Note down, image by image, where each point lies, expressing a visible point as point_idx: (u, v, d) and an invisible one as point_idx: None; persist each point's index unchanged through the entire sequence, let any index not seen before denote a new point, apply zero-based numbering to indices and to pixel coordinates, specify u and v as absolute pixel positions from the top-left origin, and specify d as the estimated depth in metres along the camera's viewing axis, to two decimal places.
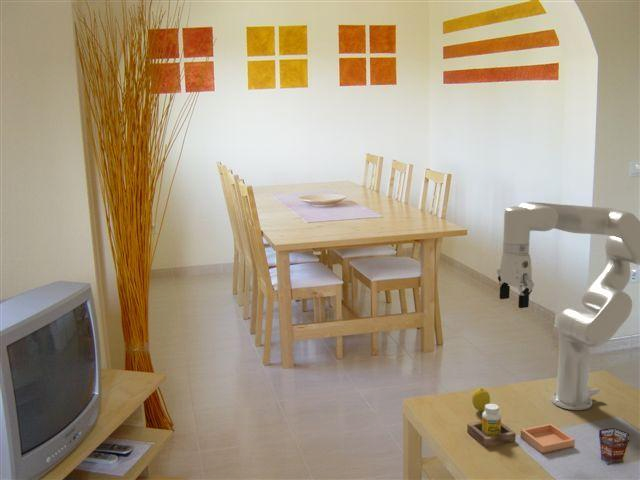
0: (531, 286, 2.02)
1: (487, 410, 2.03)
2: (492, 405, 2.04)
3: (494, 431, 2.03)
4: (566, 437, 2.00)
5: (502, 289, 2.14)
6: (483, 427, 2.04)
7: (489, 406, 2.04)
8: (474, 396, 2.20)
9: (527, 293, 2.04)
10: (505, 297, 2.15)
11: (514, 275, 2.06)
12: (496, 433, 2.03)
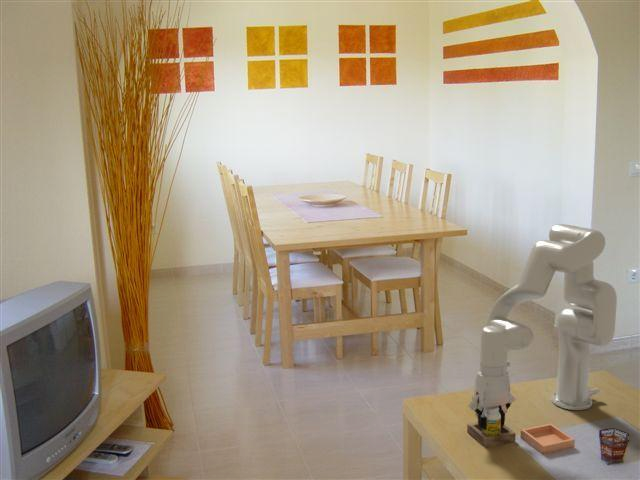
0: None
1: (487, 410, 2.03)
2: None
3: (494, 431, 2.03)
4: (566, 437, 2.00)
5: None
6: None
7: None
8: None
9: None
10: None
11: (505, 393, 2.02)
12: (496, 433, 2.03)
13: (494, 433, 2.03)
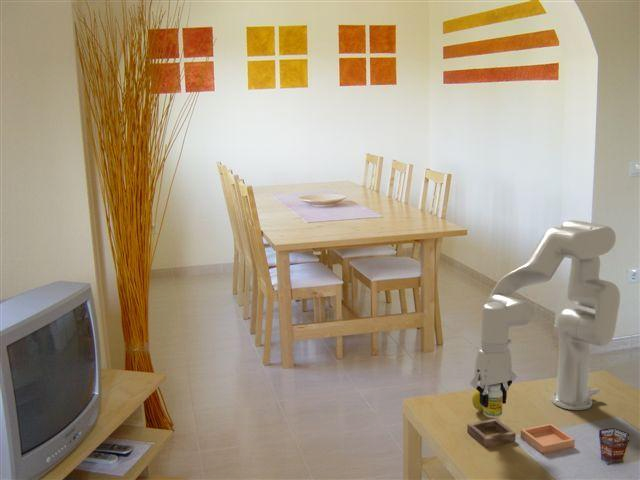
0: None
1: (489, 387, 2.01)
2: None
3: (496, 409, 2.01)
4: (566, 437, 2.00)
5: None
6: None
7: None
8: (474, 396, 2.20)
9: None
10: None
11: (507, 371, 2.00)
12: (498, 411, 2.02)
13: (496, 411, 2.01)
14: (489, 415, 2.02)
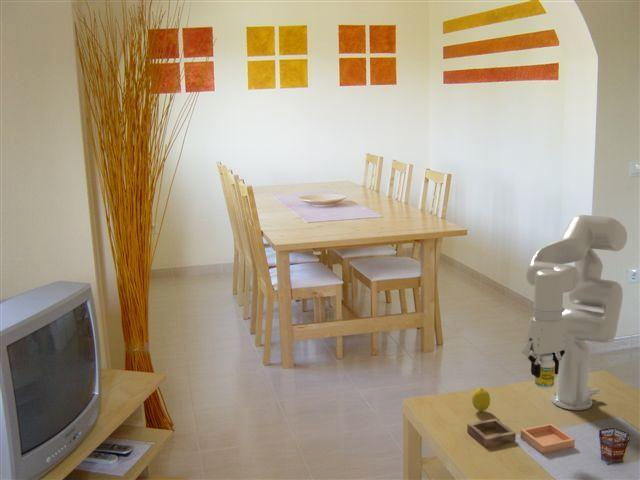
0: None
1: (541, 357, 1.95)
2: None
3: (548, 379, 1.95)
4: (566, 437, 2.00)
5: None
6: None
7: None
8: (474, 396, 2.20)
9: None
10: None
11: (560, 340, 1.94)
12: (550, 381, 1.96)
13: (548, 381, 1.96)
14: (541, 386, 1.96)
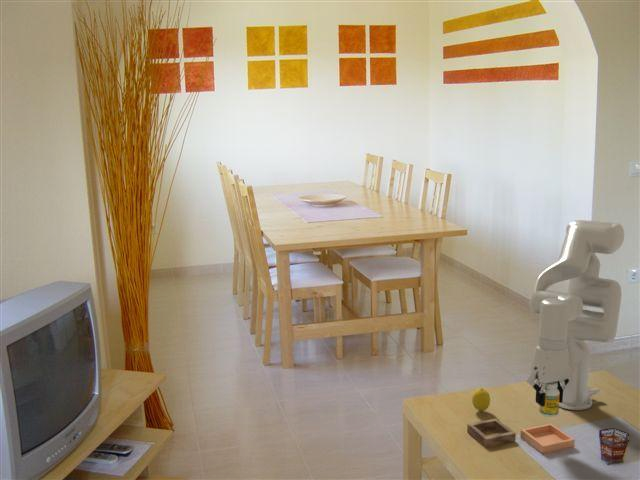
0: None
1: (546, 386, 1.96)
2: None
3: (553, 408, 1.96)
4: (566, 437, 2.00)
5: None
6: None
7: None
8: (474, 396, 2.20)
9: None
10: None
11: (565, 368, 1.96)
12: (555, 410, 1.97)
13: (553, 410, 1.96)
14: (545, 414, 1.97)
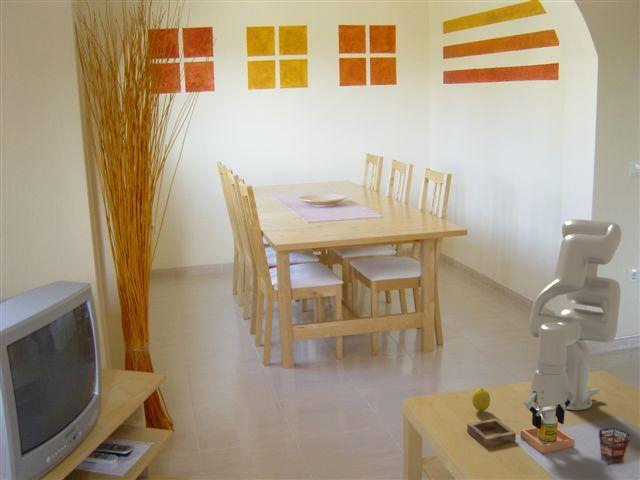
0: None
1: (544, 413, 1.99)
2: (548, 408, 2.00)
3: (551, 435, 1.98)
4: (566, 437, 2.00)
5: None
6: (539, 431, 2.00)
7: (545, 409, 2.00)
8: (474, 396, 2.20)
9: None
10: None
11: (563, 392, 1.97)
12: (553, 437, 1.99)
13: (551, 437, 1.99)
14: (544, 441, 1.99)
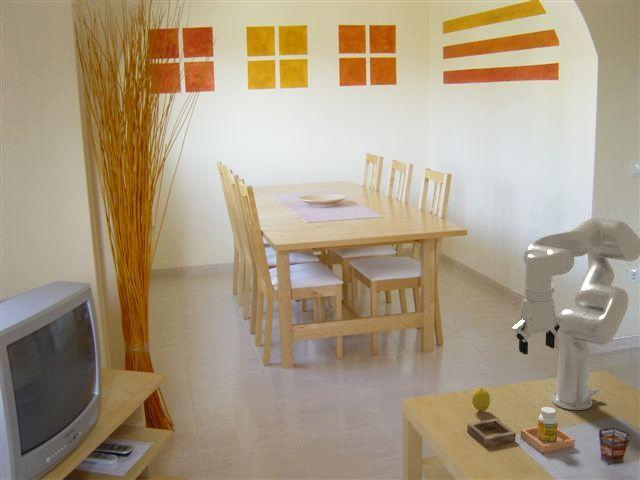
0: None
1: (544, 413, 1.98)
2: (548, 408, 2.00)
3: (551, 435, 1.98)
4: (566, 437, 2.00)
5: None
6: (539, 431, 2.00)
7: (546, 409, 2.00)
8: (474, 396, 2.20)
9: None
10: None
11: (551, 319, 2.02)
12: (553, 437, 1.99)
13: (551, 437, 1.99)
14: (544, 441, 1.99)
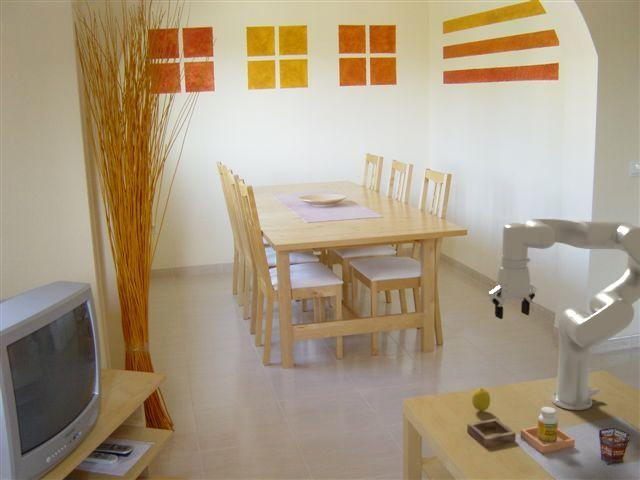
0: None
1: (544, 413, 1.98)
2: (548, 408, 2.00)
3: (551, 435, 1.98)
4: (566, 437, 2.00)
5: None
6: (539, 431, 2.00)
7: (546, 409, 2.00)
8: (474, 396, 2.20)
9: None
10: None
11: (525, 287, 2.16)
12: (553, 437, 1.99)
13: (551, 437, 1.99)
14: (544, 441, 1.99)
